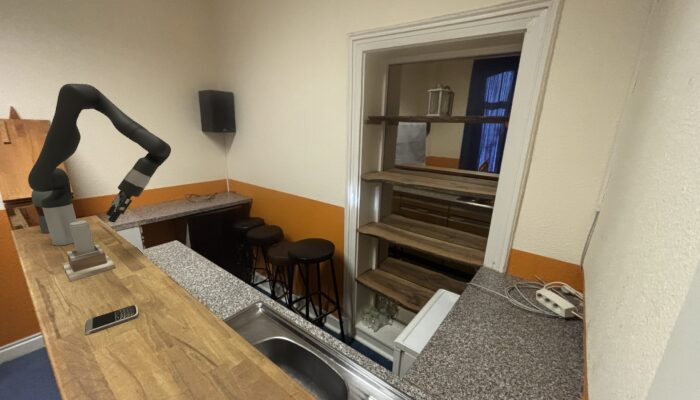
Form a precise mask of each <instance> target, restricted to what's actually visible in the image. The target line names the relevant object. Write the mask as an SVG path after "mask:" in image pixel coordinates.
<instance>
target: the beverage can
mask: <svg viewBox="0 0 700 400" xmlns="http://www.w3.org/2000/svg"><path fill="white" fill-rule="evenodd" d="M70 229H71V233H72V237H73V240H74V243H73V244H74V248H75V250H76V251H77V254H78V255H82V254H86V253H90V252H94V251H95V248H94V245H95V244H94V240H93V237H92V231H91V228H90V224H89V222H88V220H77V221H76V222H72V223H70Z"/></svg>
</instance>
